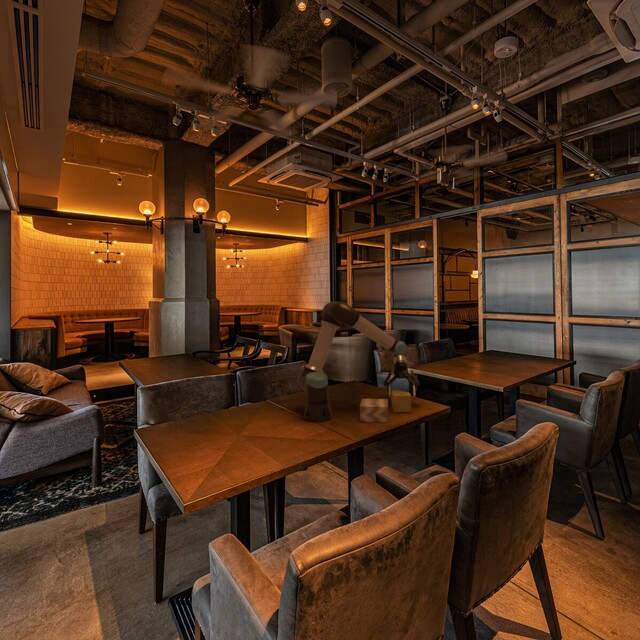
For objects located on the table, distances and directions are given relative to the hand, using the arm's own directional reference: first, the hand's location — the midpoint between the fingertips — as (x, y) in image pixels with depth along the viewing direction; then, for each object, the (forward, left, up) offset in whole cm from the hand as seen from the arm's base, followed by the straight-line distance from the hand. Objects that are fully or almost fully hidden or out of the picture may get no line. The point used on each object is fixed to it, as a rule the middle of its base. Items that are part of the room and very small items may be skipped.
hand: (402, 396), depth 210 cm
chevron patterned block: (-15, -16, -7) cm, 23 cm away
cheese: (-1, -3, -8) cm, 8 cm away
